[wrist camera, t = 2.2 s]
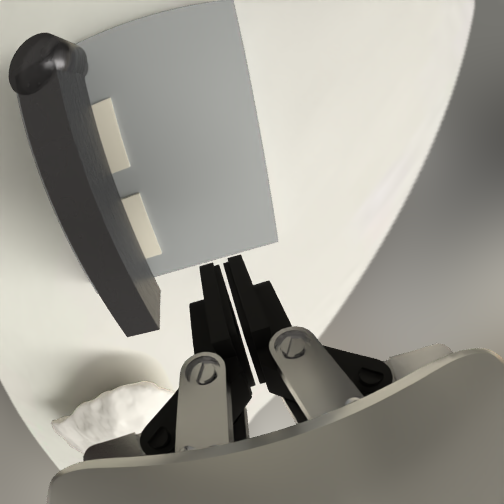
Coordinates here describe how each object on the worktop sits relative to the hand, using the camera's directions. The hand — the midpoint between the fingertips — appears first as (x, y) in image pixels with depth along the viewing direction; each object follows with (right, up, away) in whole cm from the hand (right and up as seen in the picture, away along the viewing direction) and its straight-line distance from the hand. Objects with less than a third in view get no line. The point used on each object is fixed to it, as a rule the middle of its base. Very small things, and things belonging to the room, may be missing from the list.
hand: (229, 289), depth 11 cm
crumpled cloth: (-19, -23, +23) cm, 38 cm away
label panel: (-7, +9, +7) cm, 13 cm away
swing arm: (-9, +6, +4) cm, 11 cm away
